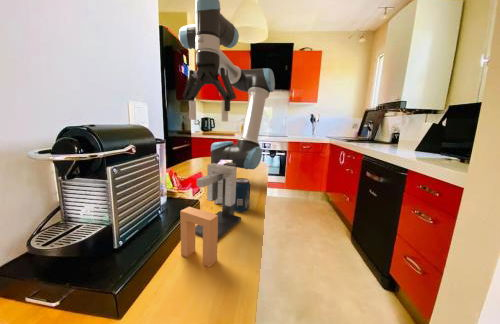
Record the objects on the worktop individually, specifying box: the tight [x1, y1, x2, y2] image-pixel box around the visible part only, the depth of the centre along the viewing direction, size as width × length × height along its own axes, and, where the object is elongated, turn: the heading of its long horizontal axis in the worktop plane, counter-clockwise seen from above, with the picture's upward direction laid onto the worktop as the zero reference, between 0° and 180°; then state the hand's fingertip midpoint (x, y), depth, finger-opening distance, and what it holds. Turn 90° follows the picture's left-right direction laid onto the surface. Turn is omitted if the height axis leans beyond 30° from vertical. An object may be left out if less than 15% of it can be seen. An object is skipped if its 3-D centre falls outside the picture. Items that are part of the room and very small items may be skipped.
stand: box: [195, 162, 242, 240], centre depth 63 cm, size 16×9×20 cm, turn 153°
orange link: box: [179, 206, 219, 268], centre depth 49 cm, size 3×9×12 cm, turn 63°
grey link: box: [206, 163, 238, 206], centre depth 65 cm, size 3×9×12 cm, turn 63°
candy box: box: [213, 160, 233, 206], centre depth 88 cm, size 14×6×16 cm, turn 178°
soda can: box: [234, 177, 251, 213], centre depth 78 cm, size 7×7×12 cm
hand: (208, 120), depth 70 cm, fingers open, 13 cm apart
